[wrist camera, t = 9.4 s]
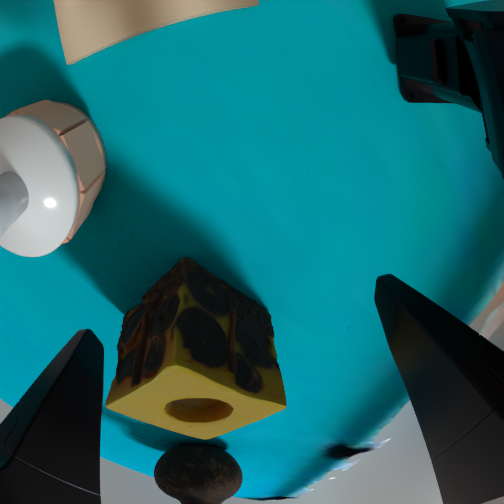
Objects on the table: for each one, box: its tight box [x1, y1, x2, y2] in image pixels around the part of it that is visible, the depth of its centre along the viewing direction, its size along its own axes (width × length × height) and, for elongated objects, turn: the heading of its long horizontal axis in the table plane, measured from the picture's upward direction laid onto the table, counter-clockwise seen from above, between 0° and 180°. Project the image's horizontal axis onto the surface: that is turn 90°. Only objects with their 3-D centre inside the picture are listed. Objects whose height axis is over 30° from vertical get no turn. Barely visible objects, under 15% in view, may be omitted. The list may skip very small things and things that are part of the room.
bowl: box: [5, 99, 107, 244], centre depth 15 cm, size 9×9×4 cm
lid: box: [0, 114, 80, 257], centre depth 12 cm, size 9×9×4 cm
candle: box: [106, 258, 286, 440], centre depth 23 cm, size 10×10×10 cm
